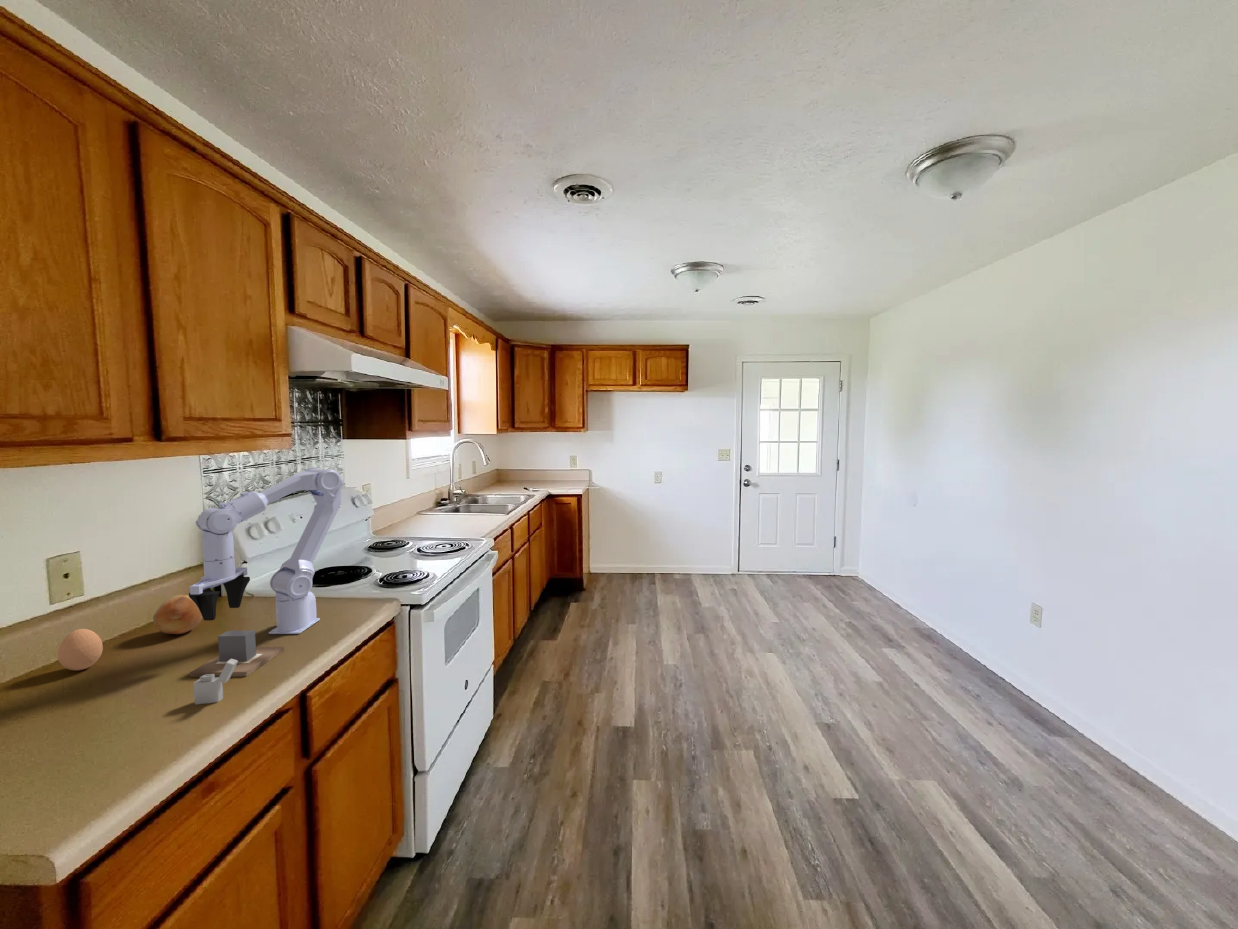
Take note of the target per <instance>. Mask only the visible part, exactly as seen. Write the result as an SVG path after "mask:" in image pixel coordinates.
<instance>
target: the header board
mask: <svg viewBox="0 0 1238 929" xmlns="http://www.w3.org/2000/svg"><path fill="white" fill-rule="evenodd" d="M284 648H285V647H284V646H256V656H254V657H253V658H251V659H250V660H248V661H247V662H238V663H237V665H236V667H235V669H234V671H233V673H232V675H231V677H248V676H249V675H251V674H252V673H254V672H255V671H256V670H258V669H259V668H261V667H262V666H264V665H265V664H266V663H268V662H269V661H271V660H272V659H274V658H275V657H276V656H278V655H280V654H281V653H283V652H284ZM226 663H227V662H220V661H219V655H218V656H215V657H213V658H212V659H210V660H209V661H207V662H206V663H204V664H202V665H200V666H198V667H197V668H196V669H194V670H192V671H190V672H189V675H190V678H191V677H192V678H200V677H201V676H203V675H206V674H215V678H216V677H220V675H221V673H222V671H223V669H224V667H225V665H226ZM231 677H230V678H231Z"/></svg>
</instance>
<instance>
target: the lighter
mask: <svg viewBox="0 0 1238 929" xmlns="http://www.w3.org/2000/svg"><path fill="white" fill-rule="evenodd" d="M237 663H238V660H235V659H230V660H229V661H228V662H227V663H226V665H225V667H224V669H223V671H222V673H221V675H220V677H215V674H206V675H203V676H201V677H199V678H198V679H197V680H196V681H194V682H193V683H192V684H193V696H194V698H193V699H194V705H195V706H196V705H204V704H214V703H219V702H220V701H222V700H223V699H224V690H223V689H224V687H223V683H224V684H225V683H226V682H228V681H229V680H230V678H231V675H232V673H233V671H234V669H235V667H236V665H237Z"/></svg>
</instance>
